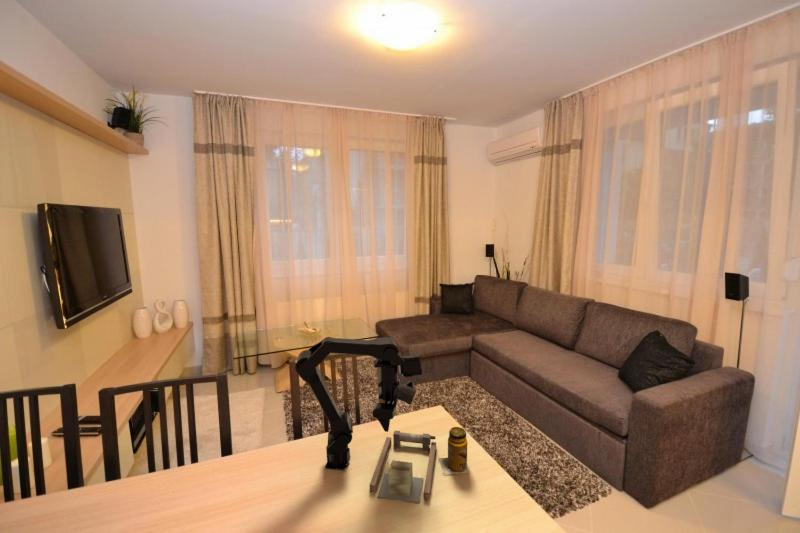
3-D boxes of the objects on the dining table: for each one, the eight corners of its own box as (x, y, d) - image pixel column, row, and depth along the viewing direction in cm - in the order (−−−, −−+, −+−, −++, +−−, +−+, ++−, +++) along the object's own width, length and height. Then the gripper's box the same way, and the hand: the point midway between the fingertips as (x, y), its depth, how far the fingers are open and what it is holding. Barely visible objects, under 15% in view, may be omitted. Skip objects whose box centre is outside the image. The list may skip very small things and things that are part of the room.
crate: (388, 493, 102) (388, 474, 101) (392, 478, 108) (392, 459, 107) (409, 496, 101) (409, 476, 100) (412, 480, 107) (412, 461, 106)
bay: (369, 492, 103) (369, 478, 102) (387, 440, 126) (387, 428, 125) (429, 500, 100) (429, 485, 99) (436, 445, 123) (436, 433, 122)
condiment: (471, 472, 110) (471, 437, 108) (444, 475, 109) (444, 440, 107) (463, 456, 117) (464, 423, 115) (438, 459, 116) (438, 425, 114)
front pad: (377, 497, 101) (377, 496, 101) (384, 474, 110) (384, 473, 110) (419, 503, 99) (419, 502, 99) (423, 479, 108) (423, 478, 108)
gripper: (408, 395, 103) (409, 444, 105) (418, 366, 121) (418, 409, 123) (371, 391, 105) (373, 439, 108) (386, 364, 123) (387, 406, 126)
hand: (389, 422), depth 116 cm, fingers open, 9 cm apart
